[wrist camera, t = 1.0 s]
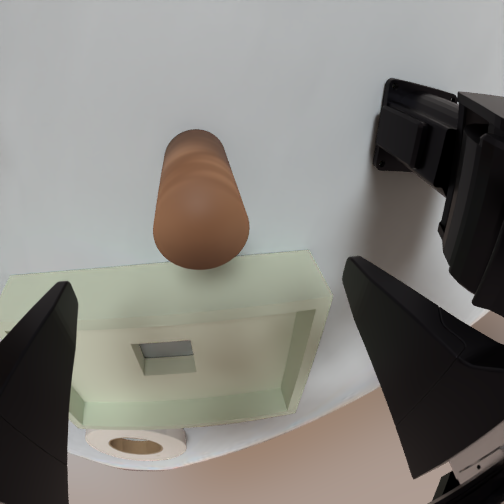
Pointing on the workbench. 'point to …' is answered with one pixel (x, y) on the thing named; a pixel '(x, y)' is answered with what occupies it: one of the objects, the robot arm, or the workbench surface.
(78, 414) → the box
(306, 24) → the workbench surface
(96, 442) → the roll of tape
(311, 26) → the workbench surface
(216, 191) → the peg
